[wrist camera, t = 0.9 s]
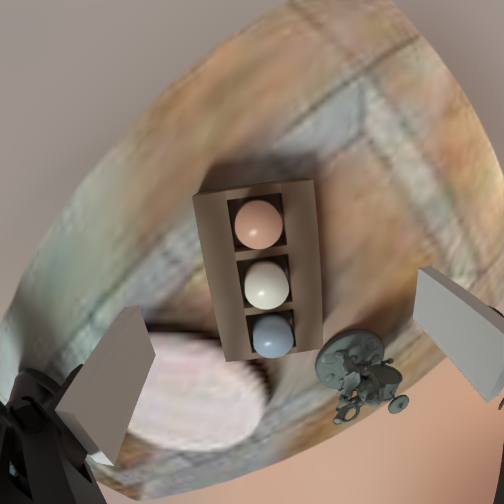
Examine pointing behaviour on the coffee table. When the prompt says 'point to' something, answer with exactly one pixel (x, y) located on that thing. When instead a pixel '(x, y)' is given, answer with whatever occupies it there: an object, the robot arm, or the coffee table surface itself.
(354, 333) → the figurine
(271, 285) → the button cream
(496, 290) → the coffee table surface
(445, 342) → the robot arm
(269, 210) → the button terracotta
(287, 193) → the button board
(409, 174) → the coffee table surface
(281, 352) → the button slate
